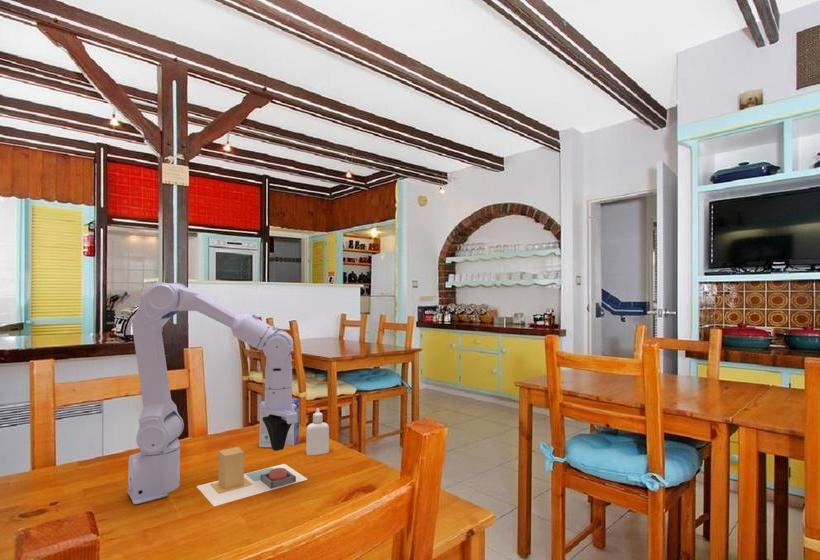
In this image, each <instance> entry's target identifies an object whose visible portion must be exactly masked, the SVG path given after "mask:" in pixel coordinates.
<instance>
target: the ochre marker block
mask: <svg viewBox="0 0 820 560" xmlns="http://www.w3.org/2000/svg"><path fill="white" fill-rule="evenodd" d="M244 474H245V451H244V450H242V448H241V447H238V446H235V447H231V448H227V449H222V450H219V451H218V480H219V485H220V486H221V487H222V488H223V489H224V490H226V489H230V488H233V487H237V486H241V485H244Z"/></svg>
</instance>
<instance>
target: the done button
mask: <svg viewBox="0 0 820 560" xmlns="http://www.w3.org/2000/svg"><path fill="white" fill-rule="evenodd" d="M283 478H287V470H286V469H285V468H275V469H272V470H270V472H269V479H270V480H271V481H276V480H280V479H283Z"/></svg>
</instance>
